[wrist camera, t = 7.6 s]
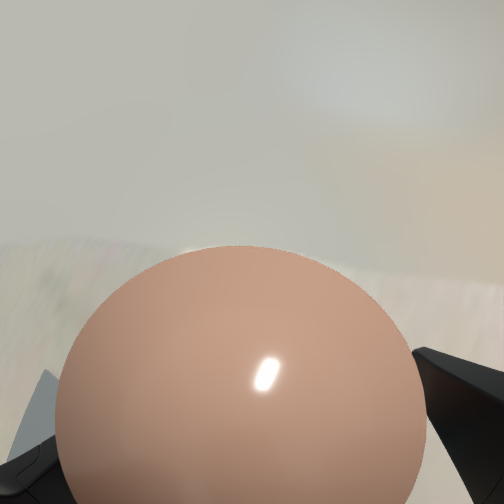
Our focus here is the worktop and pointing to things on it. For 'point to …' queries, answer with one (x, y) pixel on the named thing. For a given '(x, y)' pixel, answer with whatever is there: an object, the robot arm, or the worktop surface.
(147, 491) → the dome-capped peach post
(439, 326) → the worktop surface
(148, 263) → the worktop surface
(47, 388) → the mat
